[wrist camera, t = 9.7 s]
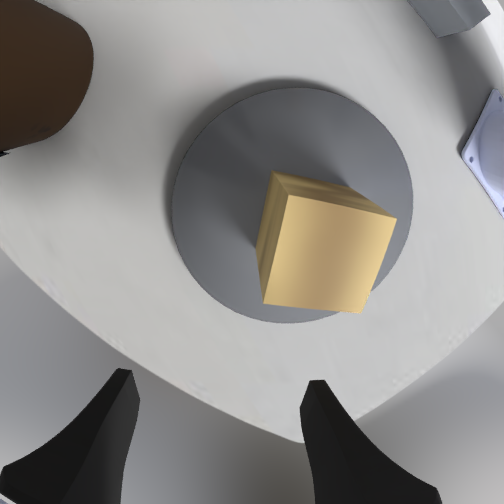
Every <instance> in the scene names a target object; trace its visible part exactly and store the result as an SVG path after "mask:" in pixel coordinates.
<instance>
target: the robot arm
mask: <svg viewBox="0 0 504 504" xmlns="http://www.w3.org/2000/svg"><path fill="white" fill-rule="evenodd" d="M462 159H463V160H464V161H465V163H466V164H467V165H468V167H469V168H470V169H471V171H472V172H473V173H474V175H475V176H476V178H477V179H478V180H479V182H480V183H481V185H482V186H483V188H484V189H485V190H486V192H487V193H488V195H489V196H490V198H491V200H492V201H493V203H494V204H495V206H496V207H497V209H498V211H499V212H500V214H501V216H502V217H503V219H504V98H503V97H502V95H501V94H500V92H499V91H498V90H497V89H493V90H492V92H491V94H490V96H489V99H488V101H487V103H486V105H485V107H484V109H483V112H482V114H481V116H480V118H479V120H478V122H477V124H476V126H475V128H474V130H473V132H472V134H471V136H470V137H469V139H468V141H467V143H466V145H465V147H464V149H463V150H462ZM469 159H470V161H469ZM139 403H140V397H139V394H138V391H137V387H136V384H135V380H134V377H133V373H132V370H126V369H120V368H118V369H116V371H115V372H114V373H113V374H112V376H111V377H110V379H109V380H108V381H107V382H106V383H105V385H104V386H103V387H102V389H101V390H100V391H99V392H98V393H97V394H96V396H95V397H94V398H93V399H92V400H91V401H90V403H89V404H88V405H87V406H86V407H85V408H84V409H83V410H82V411H81V412H80V413H79V415H78V416H77V417H76V418H75V419H74V420H73V421H72V422H71V423H70V424H69V425H67V426H66V427H65V428H64V429H63V430H62V431H61V432H60V433H58V434H57V435H56V436H55V437H54V438H52V439H51V440H50V441H48V442H47V443H45V444H44V445H43V446H41V447H40V448H38V449H36V450H35V451H33V452H32V453H30V454H28V455H27V456H25V457H23V458H21V459H19V460H17V461H15V462H13V463H11V464H9V465H6V466H4V467H3V469H2V471H1V474H0V493H1V494H2V495H4V496H5V497H7V498H8V499H10V500H11V501H13V502H15V503H16V504H120V502H121V488H122V480H123V471H124V466H125V461H126V457H127V454H128V450H129V447H130V443H131V440H132V436H133V432H134V429H135V425H136V421H137V417H138V411H139ZM300 417H301V427H302V432H303V437H304V441H305V445H306V450H307V453H308V458H309V462H310V466H311V470H312V476H313V483H314V493H315V504H442V501H441V498H440V495H439V493H438V490H437V488H435V487H433V486H431V485H429V484H427V483H425V482H423V481H422V480H420V479H418V478H416V477H415V476H413V475H412V474H410V473H408V472H407V471H406V470H404V469H403V468H401V467H400V466H399V465H397V464H396V463H394V462H393V461H392V460H391V459H390V458H388V457H387V456H386V455H385V454H384V453H382V451H380V450H379V449H378V448H377V447H376V446H375V445H374V444H373V443H372V442H371V441H370V440H369V439H368V438H367V436H366V435H365V434H364V433H363V432H362V431H361V430H360V428H359V427H358V426H357V425H356V424H355V422H354V421H353V420H352V418H351V417H350V416H349V415H348V413H347V412H346V411H345V409H344V408H343V407H342V405H341V404H340V402H339V401H338V399H337V398H336V396H335V395H334V393H333V392H332V390H331V389H330V387H329V386H328V384H327V383H326V381H325V380H310V381H309V384H308V387H307V390H306V393H305V395H304V398H303V401H302V403H301V406H300ZM0 504H8V503H6V502H4V501H3V500H1V499H0Z"/></svg>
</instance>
